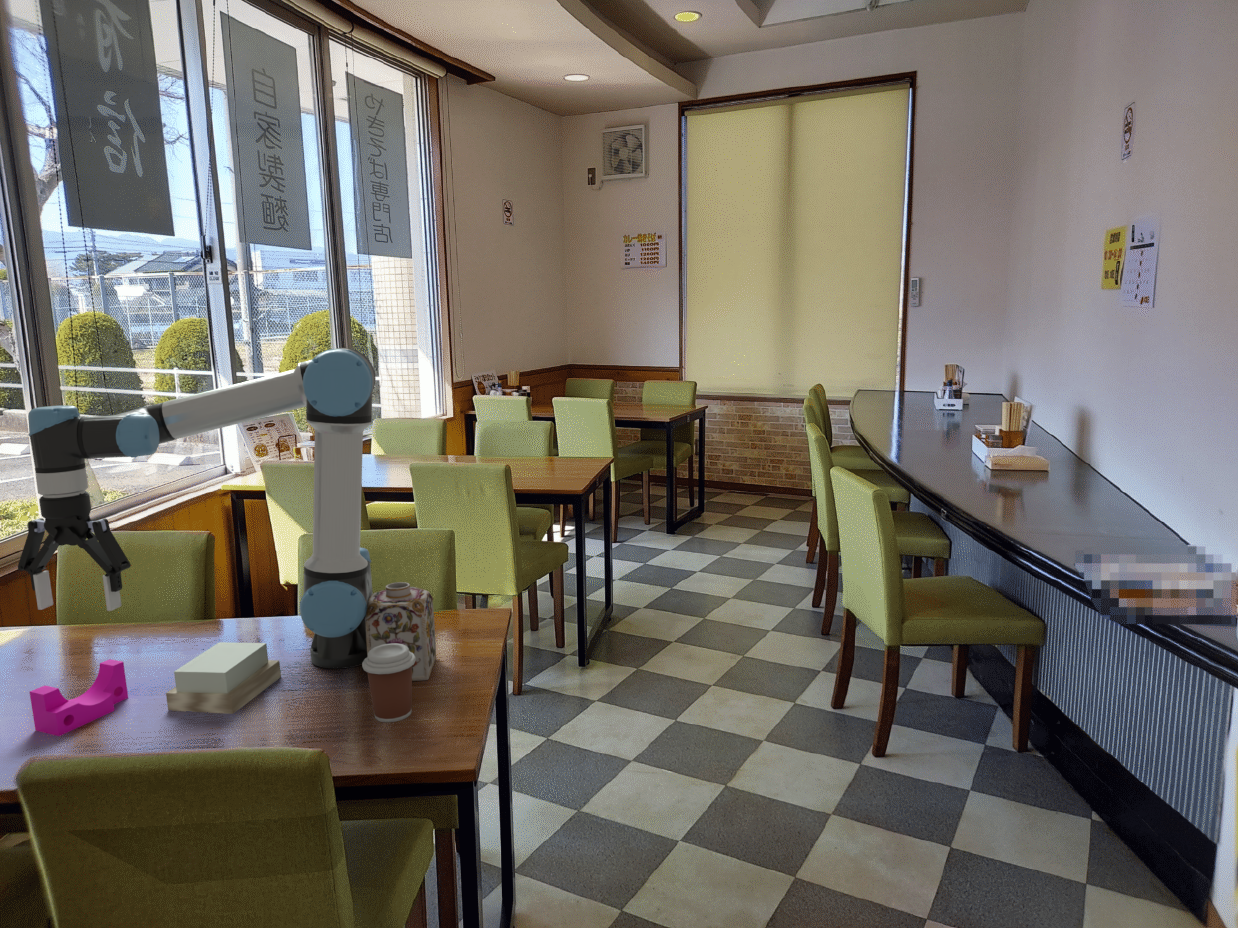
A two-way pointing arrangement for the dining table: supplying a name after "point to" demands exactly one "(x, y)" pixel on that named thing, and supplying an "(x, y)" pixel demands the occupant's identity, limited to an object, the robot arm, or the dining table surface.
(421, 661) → the decorative jar
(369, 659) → the coffee cup
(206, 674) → the tower top slab
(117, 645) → the dining table surface
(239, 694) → the tower base slab
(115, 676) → the toy block
